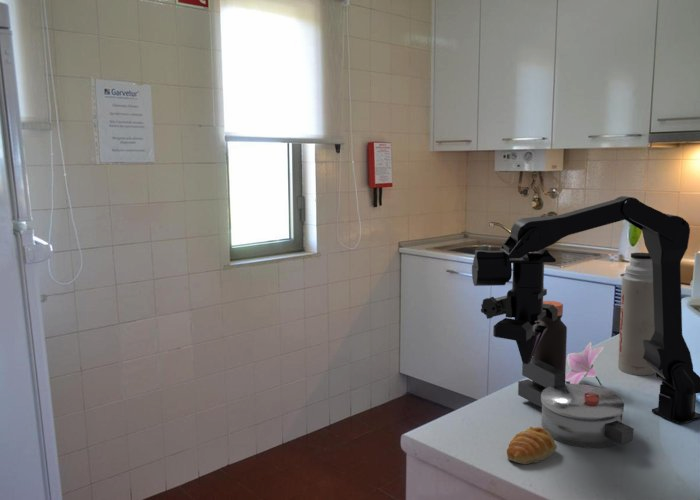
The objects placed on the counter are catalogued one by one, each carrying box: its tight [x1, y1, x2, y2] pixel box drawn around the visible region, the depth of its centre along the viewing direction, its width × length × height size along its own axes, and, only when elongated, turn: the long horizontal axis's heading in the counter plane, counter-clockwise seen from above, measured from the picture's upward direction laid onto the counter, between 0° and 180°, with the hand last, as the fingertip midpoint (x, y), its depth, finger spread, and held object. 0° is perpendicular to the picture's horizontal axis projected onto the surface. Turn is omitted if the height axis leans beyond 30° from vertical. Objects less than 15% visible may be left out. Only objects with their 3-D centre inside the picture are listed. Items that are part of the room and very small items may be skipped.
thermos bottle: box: [617, 252, 655, 376], centre depth 138 cm, size 8×8×28 cm
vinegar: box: [533, 300, 568, 387], centre depth 127 cm, size 7×7×20 cm
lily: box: [565, 341, 604, 386], centre depth 131 cm, size 12×12×10 cm
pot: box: [517, 378, 635, 449], centre depth 113 cm, size 14×26×5 cm, turn 24°
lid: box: [521, 357, 625, 421], centre depth 114 cm, size 14×23×4 cm, turn 21°
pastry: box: [506, 426, 558, 465], centre depth 102 cm, size 9×7×4 cm
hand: (525, 363), depth 115 cm, fingers closed
